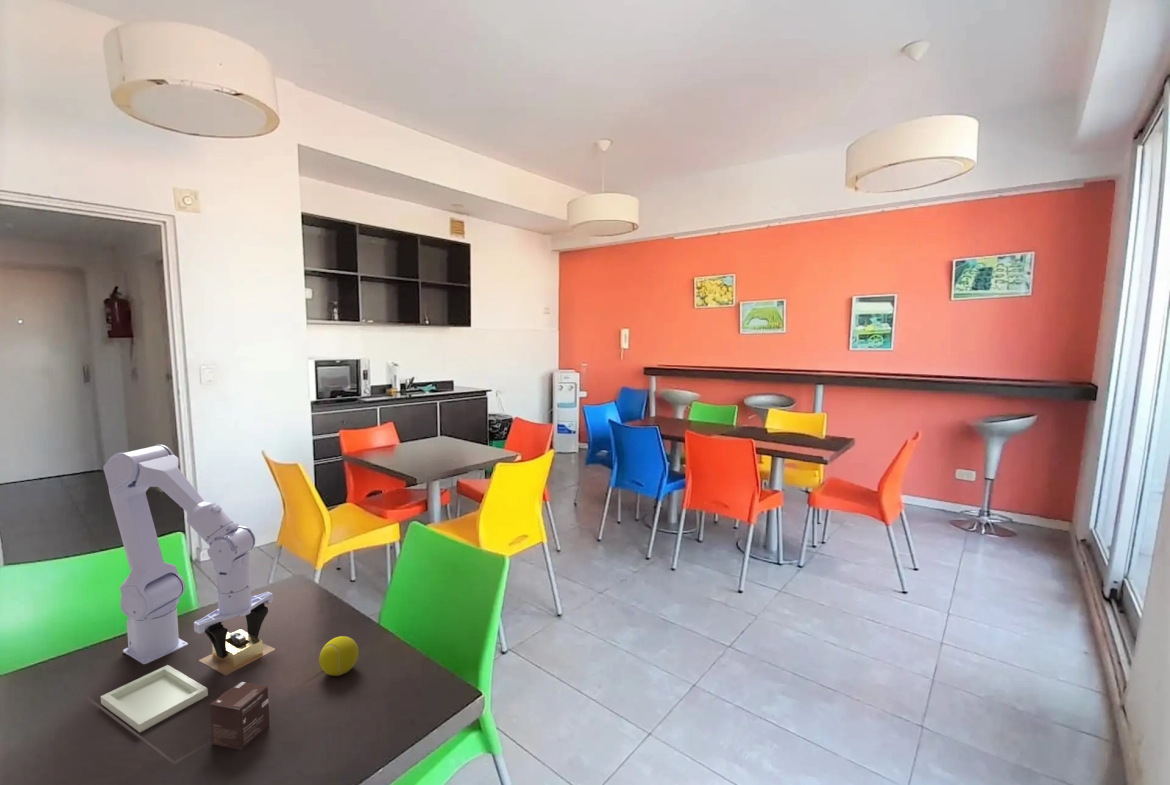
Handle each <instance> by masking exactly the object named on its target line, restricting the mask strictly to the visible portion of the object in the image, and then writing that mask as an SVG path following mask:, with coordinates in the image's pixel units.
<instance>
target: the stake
mask: <svg viewBox="0 0 1170 785" xmlns="http://www.w3.org/2000/svg"><path fill="white" fill-rule="evenodd" d="M234 632H235V631H234ZM231 633H232V634H230V639H231V640H233V646H234V647H236V648H239V647H241V643H243V642H245V641H246V636H244V635H242V634H241V633H238V632H235V633H233V632H231Z"/></svg>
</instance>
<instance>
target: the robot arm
mask: <svg viewBox="0 0 1170 785" xmlns="http://www.w3.org/2000/svg"><path fill="white" fill-rule="evenodd" d="M106 461H107V462H106V463H105V464H104V465H103V467H102V468H103V472H104V476H105V480H106V482H107V486H108V487H107V488H108V493H109V498H110V501H111V504H112V508H113V513H114V515H115V519H116V523H117V527H118V530H119V533H120V537H121V542H122V544H123V547H124V552H125V555H126V559H127V563H128V567H129V570H130V572H129V574H128V576H127V577H126V578H125V580H124V581H123V583H122V584H121V585H120V587H119V590H120V594H121V595H120V604H119V606H120V610H121V612H122V614H123V615H125V617H127V620H126V632H127V645H128V647H125V648H124V649H123V650H122V652H123V653H124V654H125V655H128V656H129V657H131V658H133V659H134V660H135V661H137V662H139V663H140V664H142V665H147V664H150V663H151V662H153V661H156V660H158V659H160V658H162V657H165V656H167V655H169V654H171V653H174V652H176V651H178V650H180V649H183V648H185V647H186V646H188V645H189V643H188V642H186V641H184V640H183V639H181V638H180V637H179V620H178V609H177V608H178V607H177V605H178V604H179V603H180V598H181V597H182V596H183V594H184V593H185V591H186V582H185V580H184V579H183V577H182V576H181V574H180V573H179V571H178V567H177V565H174V564H171V563H168V562H165V560H164V558H163V553H162V550H161V549H162V548H161V547H160V546H161V545H160V542H159V538H158V535H157V531H156V527H155V523H154V520H153V516H152V512H151V509H150V505H149V501H148V498H147V497H148V496H147V494H146V493H147V491H148V489H149V488H151V487H152V488H155V487H156V488H159V489H161V491H163V492H164V493H165V494H166V495H167V496H168V497H169V498H170V499H172V500H173V501H174V502H175V503H176V504H178V506H179V507H180V508H182V509H183V510H184V511H185V512H186V513H187V517H186V523H187V524H188V525H189V526H190V527H191V528H192V530H194V531H195V533H197V535H198V536H199V537H200V538H201V539H203V541H205V543H206V544H207V545H208V546H209V548H208V549H206V552H207V556H208V557H209V559H210V560H211V561H212V563H213V569H214V570H215V572H216V583H217V584H216V585H217V586H216V587H217V603H218V605H217V606H218V608H217V609H215V610H213V611H212V612H210V613H208V614H206V615H204V616H203V617H202V618H200V619H198V620H195V621H193V631H194V632H195V633H196V634H199V635H200V634H203V633H205V635H206V636H207V637H208V638H209V640H210V642H211V645H212V644H213V646H214V648H215V650H216V654H217V656H218V657H220V658H224V657H226V635H227V632H229V631H228V629H229V628H226V627H224V624H222V623H224V622H226V621H229V620H231V619H234V618H237V617H239V618H243V617H245V619H246V626H247V627H246V628H247V633H249V634H251V635H253V636H255V637H256V638H258V639H259V635H260V630H261V628H262V625H263V622H264V620H265V618H266V616H267V615H268V613H269V607H267V606H265V605H266V604H271V603H273V602H274V594H273V593H272V592H269V591H265V592H263V593H260V594H256V595H252V589H251V586H252V585H251V582H252V581H251V566H250V562H251V561H250V551H252V550H253V549H254V547H255V545H256V536H255V534H254V533H253V531H252V530H251V529H250V528H249V527H248V526H245V525H240V524H239V523H237V522H234V521H233V520H232V519H231V518H230V517H229V516H228V515H227V513H226V512H224V511H223V509H222V507H221V506H220V505H218V504H217V503H216V502H211V501H205V499H203V498H202V496H201V495H200V493H199V492H198V491H197V490H196V488H195V487H194V486H193V485H192V484H191V482H190V481H189V480H188V478H187V477H186V476H185V474H184V473H183V472H182V471H181V470H180V468H179V462H180V459H179V457H178V456H176V455H175V454H174V453H173V451H172V450H171V448H170V447H168V446H166V445H164V444H155V445H152V446H148V447H145V448H140V449H135V450H131V451H130V450H129V451H125V452H117V453H115V454H113V455H111V456H110V457H109V459H108V460H106Z"/></svg>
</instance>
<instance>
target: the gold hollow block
mask: <svg viewBox="0 0 1170 785" xmlns="http://www.w3.org/2000/svg"><path fill="white" fill-rule="evenodd" d="M235 632H238V633H241V634H242V635H244V636H246V641H245V642H243V643H241V647H239V648H236V647H234V646H233V640H231V639H230V634H232V633H235ZM262 643H263V640H262V639H260V638H259V637H258V638H256V637H255V636H253V635H251V634H249V633H248V631H245V630H243V629H238V630H235V631H233V632H229V631H227V635H226V657H224V658H220V657H218V656H217V654H216V650H215V648H214V646H213V644H212V643H211V648H212V654H213V656H215V657H217V658H218V659H220V660H221V661H223V662H225V663H226V664H228V665H230V666H231V667H233V668H236V667H238V666H240V665H242V664H244V663H246V662H248V661H250V660H252V659H254V658H256V657H258V656H260V655H261V654H263V647H262Z"/></svg>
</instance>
